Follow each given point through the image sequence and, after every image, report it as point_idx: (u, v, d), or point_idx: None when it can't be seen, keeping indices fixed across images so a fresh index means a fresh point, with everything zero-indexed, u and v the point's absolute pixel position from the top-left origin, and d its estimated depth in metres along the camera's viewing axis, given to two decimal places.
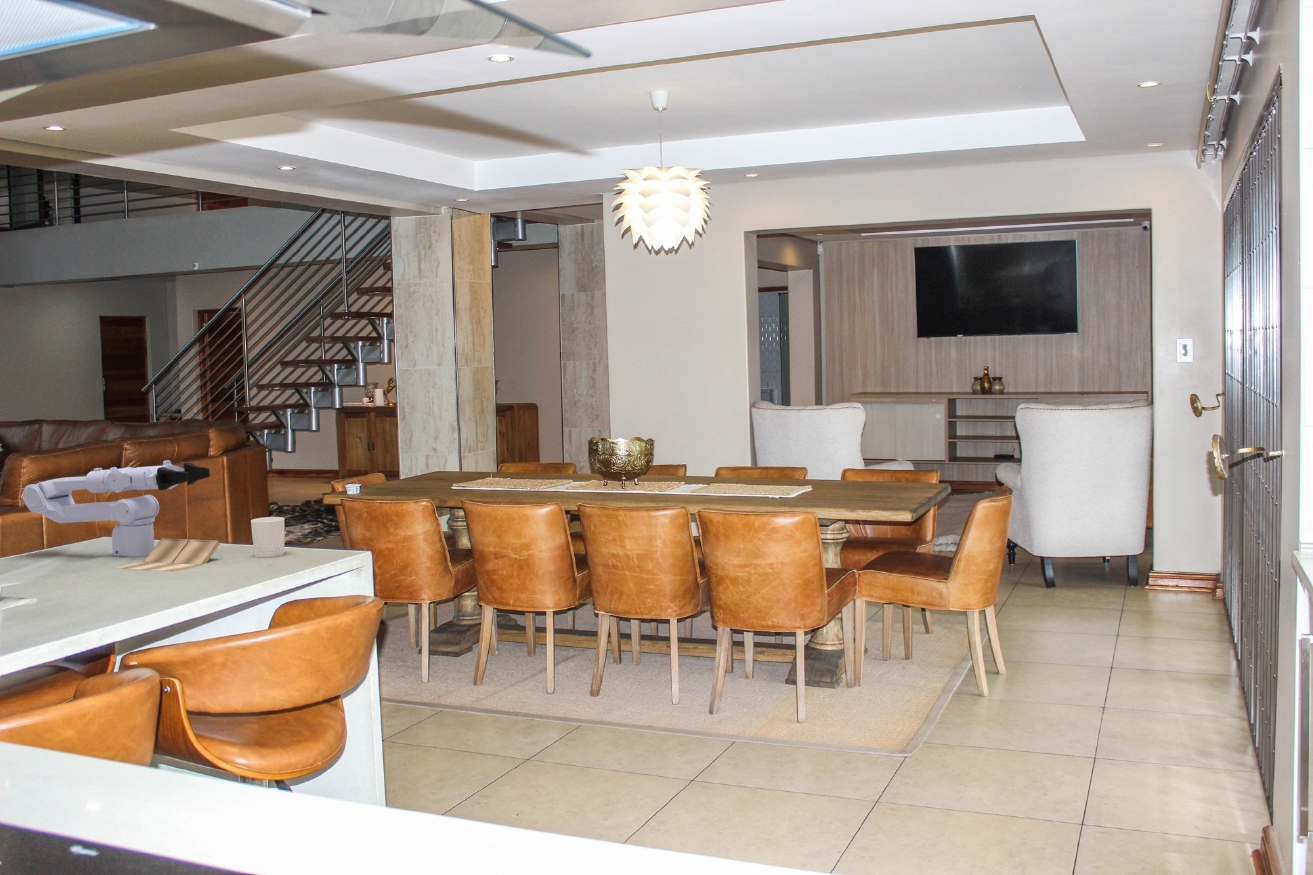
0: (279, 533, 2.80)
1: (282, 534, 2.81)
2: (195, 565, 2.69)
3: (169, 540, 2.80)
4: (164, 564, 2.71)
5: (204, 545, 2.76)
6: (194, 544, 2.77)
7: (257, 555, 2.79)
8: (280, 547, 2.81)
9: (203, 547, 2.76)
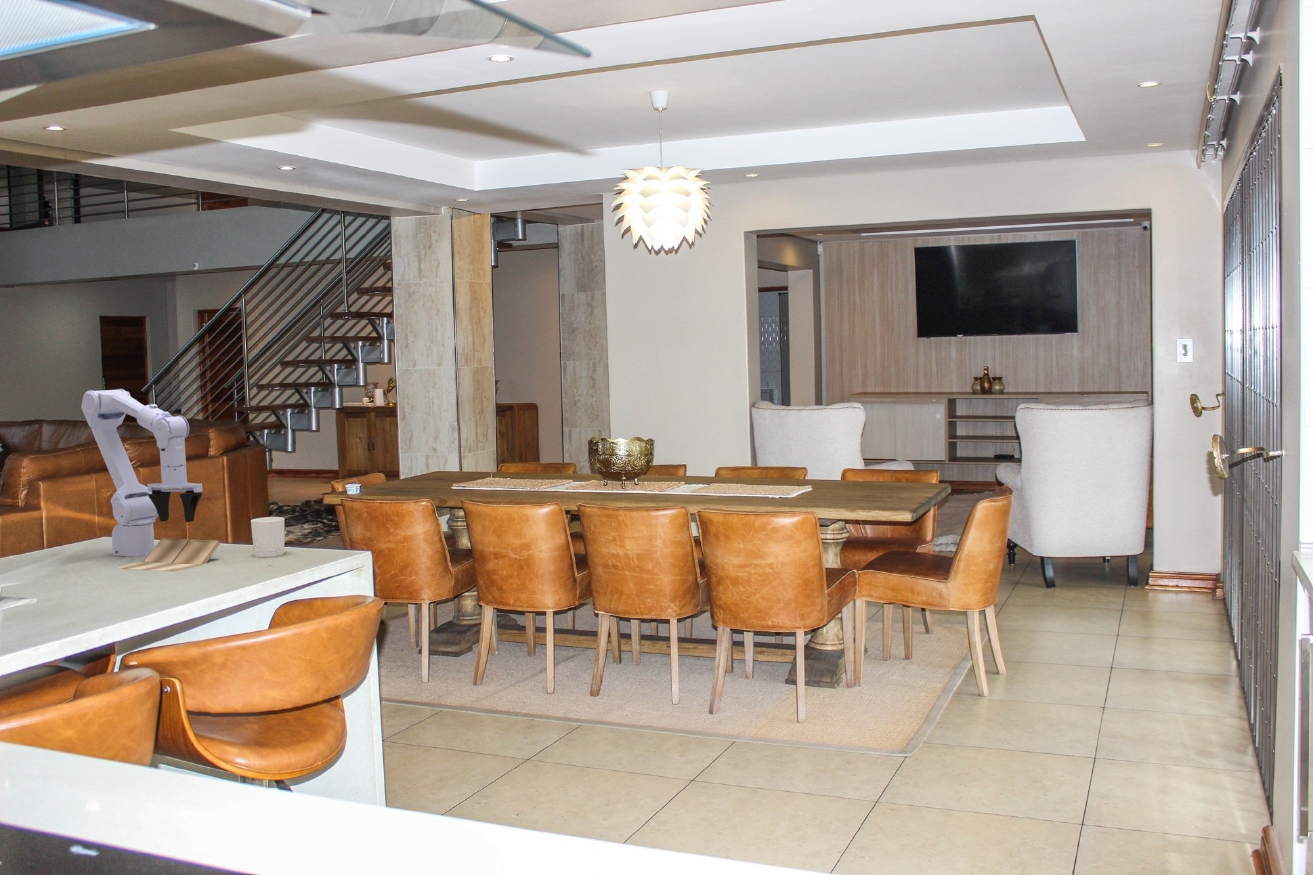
0: (279, 533, 2.80)
1: (282, 534, 2.81)
2: (195, 565, 2.69)
3: (169, 540, 2.80)
4: (164, 564, 2.71)
5: (204, 545, 2.76)
6: (194, 544, 2.77)
7: (257, 555, 2.79)
8: (280, 547, 2.81)
9: (203, 547, 2.76)
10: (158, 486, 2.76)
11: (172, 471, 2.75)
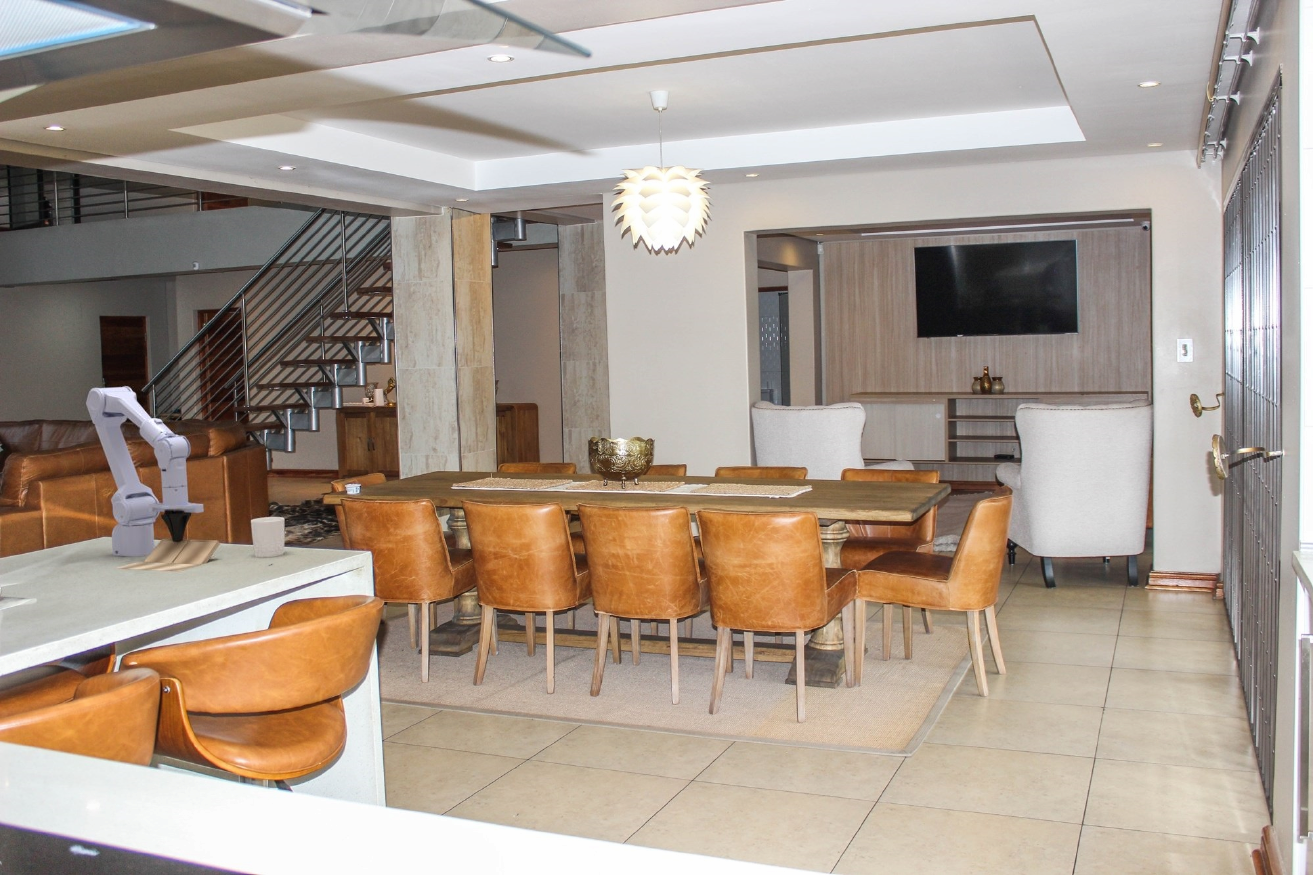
0: (279, 533, 2.80)
1: (282, 534, 2.81)
2: (195, 565, 2.69)
3: (169, 540, 2.80)
4: (164, 564, 2.71)
5: (204, 545, 2.76)
6: (194, 544, 2.77)
7: (257, 555, 2.79)
8: (280, 547, 2.81)
9: (203, 547, 2.76)
10: (159, 506, 2.77)
11: (173, 491, 2.75)
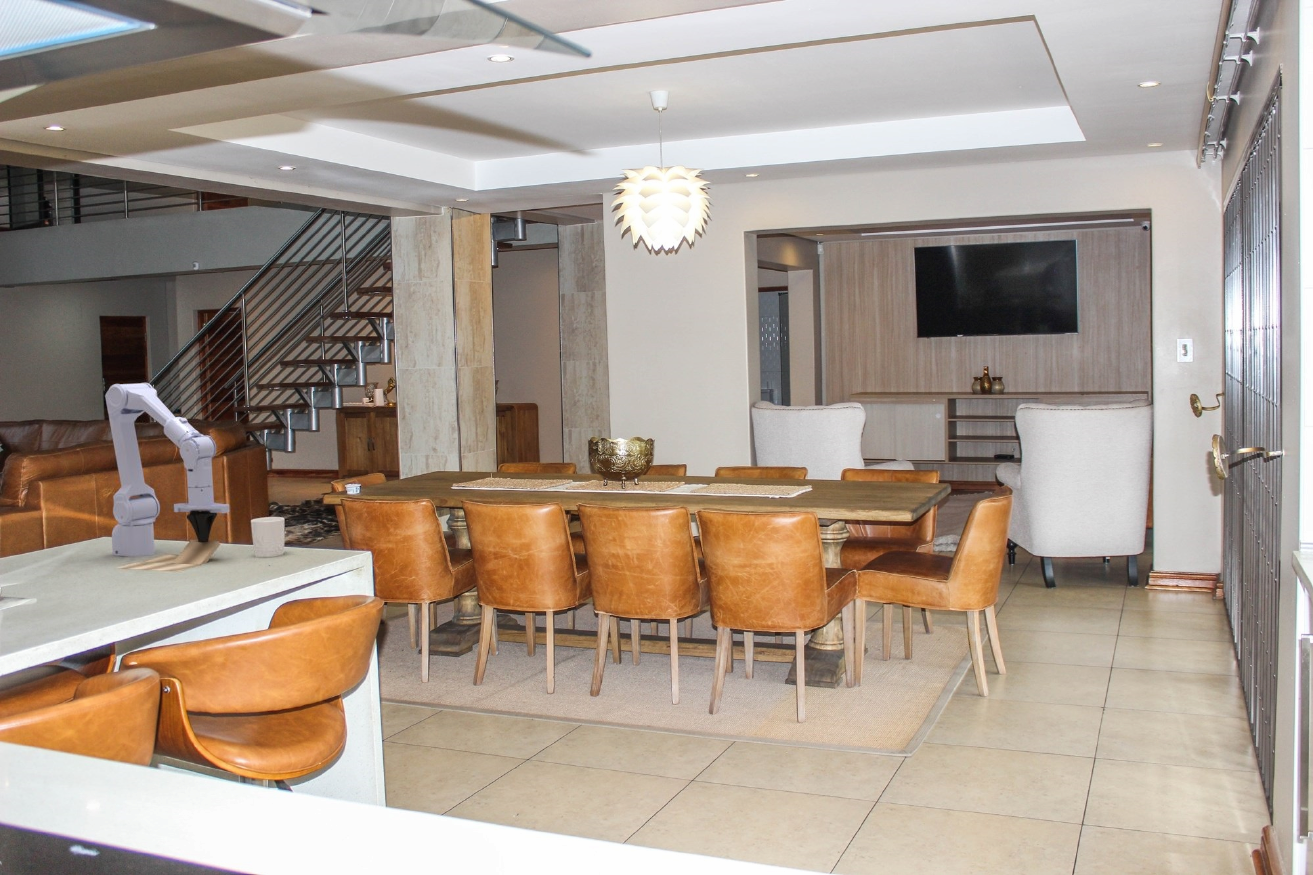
0: (279, 533, 2.80)
1: (282, 534, 2.81)
2: (195, 565, 2.69)
3: (174, 555, 2.82)
4: (164, 564, 2.71)
5: (204, 545, 2.76)
6: (194, 544, 2.77)
7: (257, 555, 2.79)
8: (280, 547, 2.81)
9: (203, 547, 2.76)
10: (185, 506, 2.75)
11: (199, 492, 2.73)
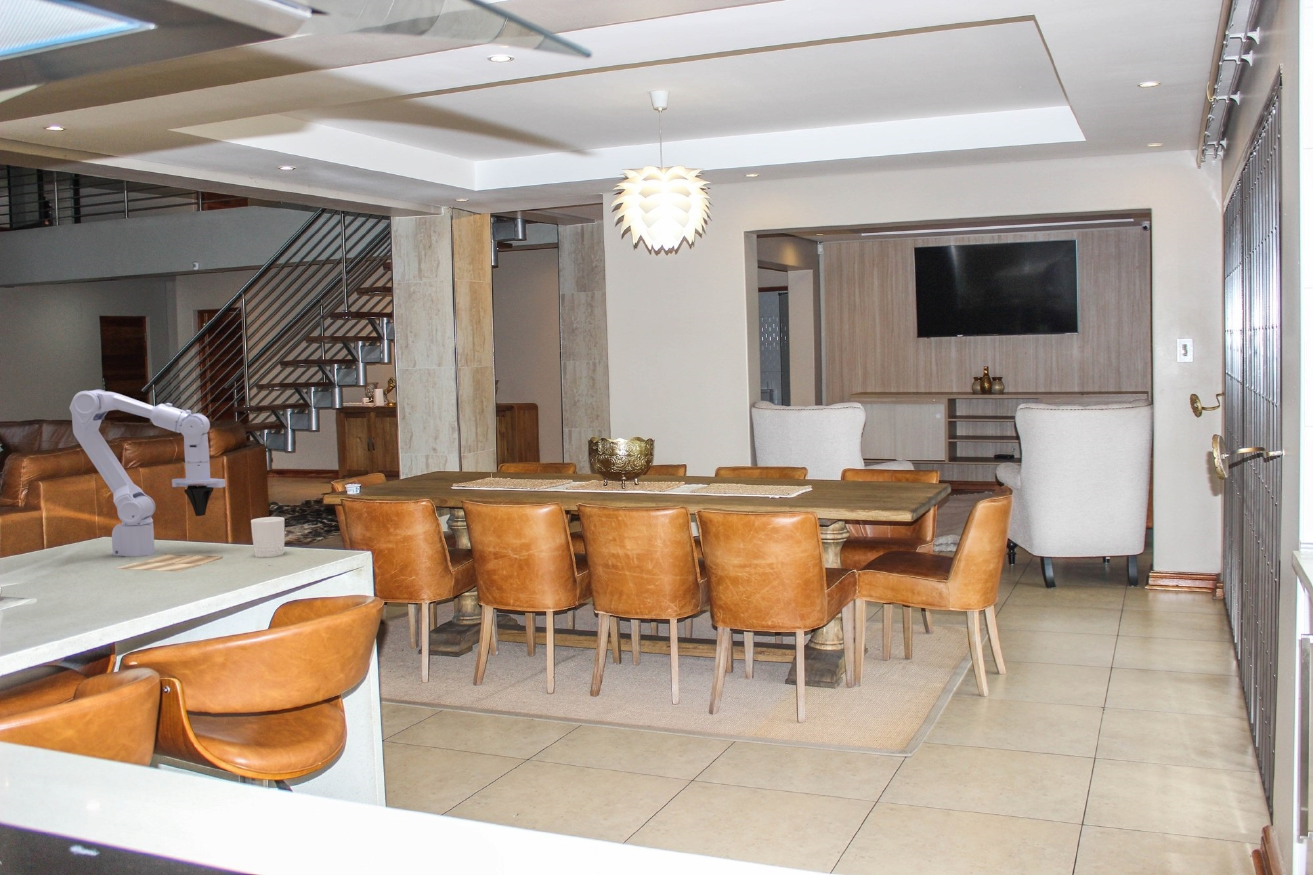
0: (279, 533, 2.80)
1: (282, 534, 2.81)
2: (195, 565, 2.69)
3: (174, 555, 2.82)
4: (164, 564, 2.71)
5: (208, 557, 2.77)
6: (198, 557, 2.78)
7: (257, 555, 2.79)
8: (280, 547, 2.81)
9: (206, 558, 2.77)
10: (182, 481, 2.85)
11: (196, 467, 2.84)
